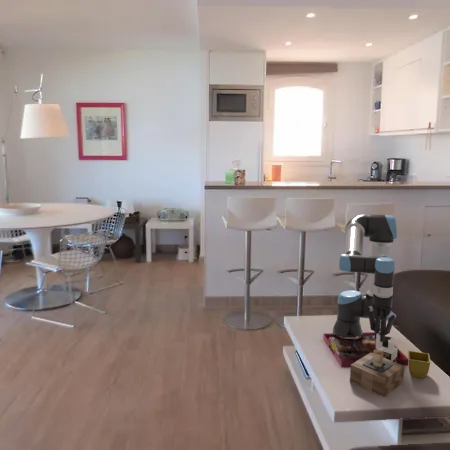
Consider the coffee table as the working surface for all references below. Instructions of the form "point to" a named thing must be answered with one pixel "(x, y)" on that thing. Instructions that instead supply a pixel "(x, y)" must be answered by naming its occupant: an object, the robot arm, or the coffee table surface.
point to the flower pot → (418, 363)
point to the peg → (378, 358)
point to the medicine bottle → (389, 348)
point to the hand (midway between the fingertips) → (378, 347)
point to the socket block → (377, 375)
